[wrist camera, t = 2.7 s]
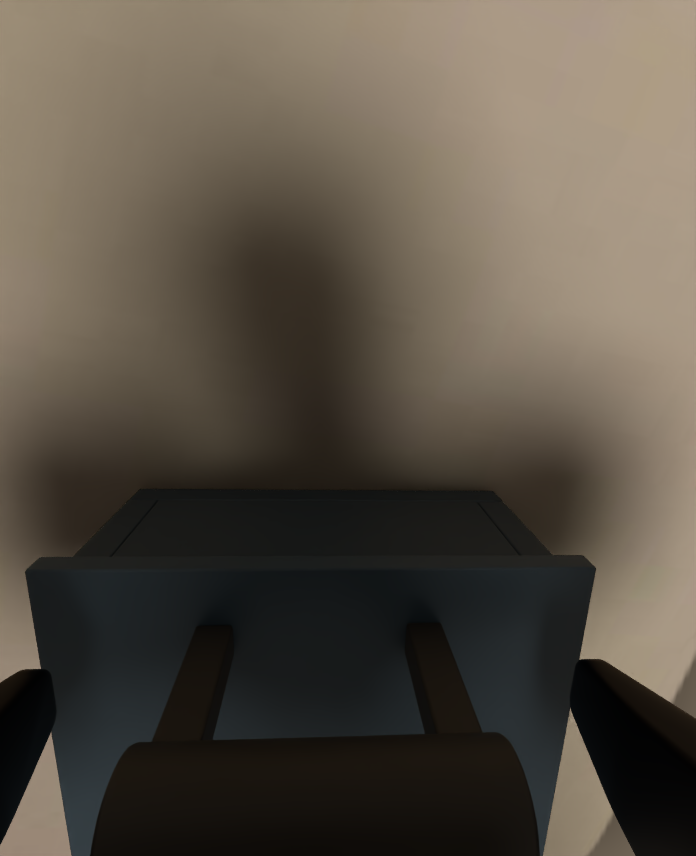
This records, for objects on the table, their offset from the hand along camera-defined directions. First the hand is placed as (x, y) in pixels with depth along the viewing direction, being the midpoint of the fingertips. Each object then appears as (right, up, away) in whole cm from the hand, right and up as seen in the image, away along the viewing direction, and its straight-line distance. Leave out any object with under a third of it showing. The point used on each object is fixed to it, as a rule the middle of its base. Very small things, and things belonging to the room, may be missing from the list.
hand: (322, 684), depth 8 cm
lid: (0, -3, +2) cm, 3 cm away
